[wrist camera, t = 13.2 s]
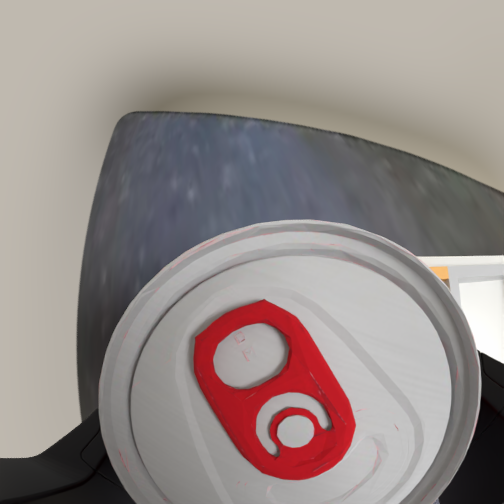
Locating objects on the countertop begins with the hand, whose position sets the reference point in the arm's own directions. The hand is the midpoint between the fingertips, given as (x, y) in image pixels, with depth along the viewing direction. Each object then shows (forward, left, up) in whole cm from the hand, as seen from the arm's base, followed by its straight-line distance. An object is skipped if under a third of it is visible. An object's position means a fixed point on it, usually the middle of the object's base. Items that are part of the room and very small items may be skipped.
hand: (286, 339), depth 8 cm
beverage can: (-1, 0, -7) cm, 7 cm away
